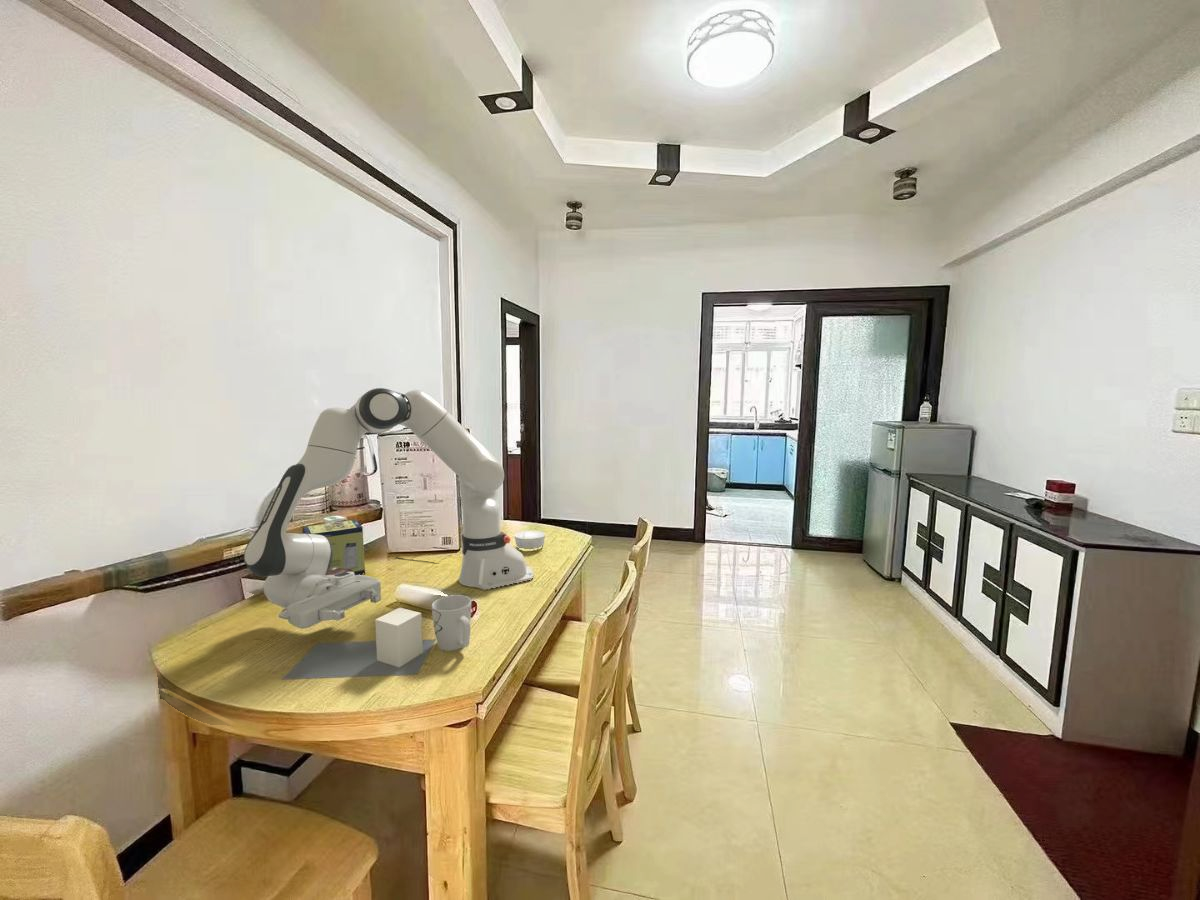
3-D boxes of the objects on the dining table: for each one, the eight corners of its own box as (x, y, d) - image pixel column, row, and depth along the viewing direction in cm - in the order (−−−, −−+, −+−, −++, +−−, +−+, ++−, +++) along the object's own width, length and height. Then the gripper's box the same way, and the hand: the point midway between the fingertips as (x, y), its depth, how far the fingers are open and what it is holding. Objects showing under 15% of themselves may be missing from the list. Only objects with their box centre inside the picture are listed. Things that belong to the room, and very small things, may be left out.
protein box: (304, 575, 150) (301, 526, 148) (359, 564, 159) (357, 519, 157) (308, 585, 142) (305, 534, 140) (366, 574, 151) (363, 526, 149)
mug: (486, 650, 106) (485, 607, 105) (450, 665, 100) (449, 619, 99) (460, 632, 114) (459, 591, 113) (426, 644, 108) (425, 602, 107)
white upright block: (401, 646, 107) (399, 607, 106) (422, 652, 104) (421, 613, 103) (377, 660, 101) (375, 619, 100) (399, 667, 98) (397, 625, 97)
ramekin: (509, 547, 178) (509, 533, 178) (534, 541, 186) (534, 528, 185) (524, 555, 170) (524, 540, 169) (551, 548, 177) (551, 535, 176)
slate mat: (436, 640, 110) (435, 639, 110) (417, 676, 96) (417, 674, 96) (318, 644, 108) (318, 642, 108) (281, 681, 94) (281, 679, 94)
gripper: (272, 601, 103) (315, 612, 97) (355, 568, 121) (396, 577, 116) (275, 628, 104) (317, 642, 98) (357, 592, 122) (397, 602, 116)
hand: (360, 606), depth 107 cm, fingers open, 8 cm apart
